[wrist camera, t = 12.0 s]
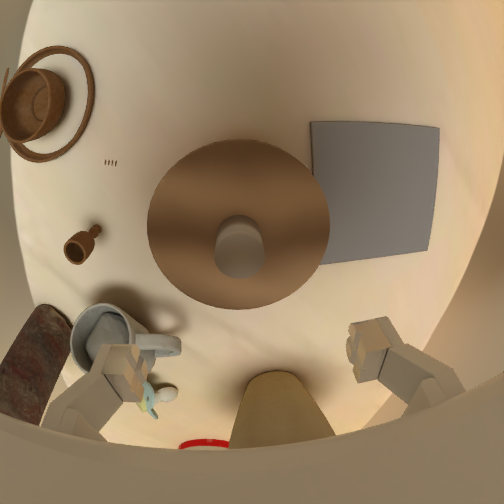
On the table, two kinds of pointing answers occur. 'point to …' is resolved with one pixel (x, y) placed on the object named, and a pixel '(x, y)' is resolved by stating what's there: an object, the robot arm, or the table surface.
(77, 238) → the place setting
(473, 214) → the table surface
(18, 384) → the brown textured cylinder
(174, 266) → the lid
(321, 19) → the table surface
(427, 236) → the mat
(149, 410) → the pacifier
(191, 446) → the kitchen timer
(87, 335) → the ceramic mug
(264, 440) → the plant pot
